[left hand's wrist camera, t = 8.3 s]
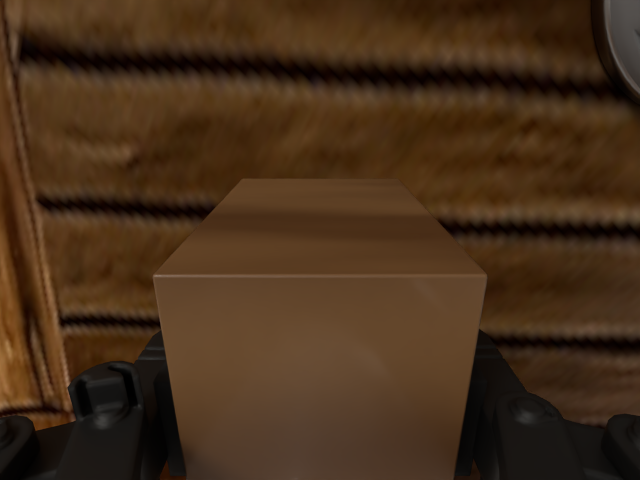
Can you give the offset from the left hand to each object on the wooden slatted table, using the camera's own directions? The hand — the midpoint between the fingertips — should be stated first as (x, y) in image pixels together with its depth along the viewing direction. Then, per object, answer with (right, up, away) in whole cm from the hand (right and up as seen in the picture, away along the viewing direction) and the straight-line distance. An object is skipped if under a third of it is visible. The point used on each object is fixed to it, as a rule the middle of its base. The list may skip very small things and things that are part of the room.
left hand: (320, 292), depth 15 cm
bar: (0, -8, +4) cm, 9 cm away
